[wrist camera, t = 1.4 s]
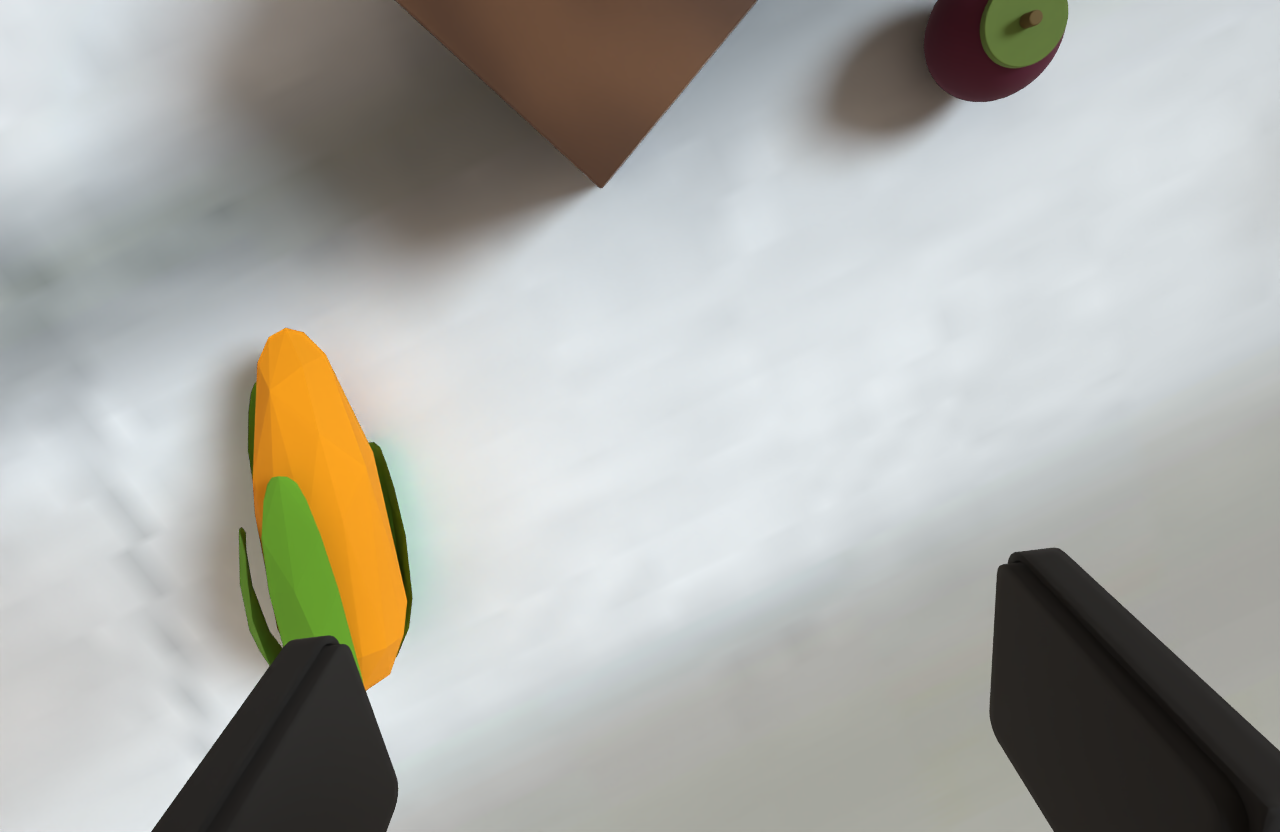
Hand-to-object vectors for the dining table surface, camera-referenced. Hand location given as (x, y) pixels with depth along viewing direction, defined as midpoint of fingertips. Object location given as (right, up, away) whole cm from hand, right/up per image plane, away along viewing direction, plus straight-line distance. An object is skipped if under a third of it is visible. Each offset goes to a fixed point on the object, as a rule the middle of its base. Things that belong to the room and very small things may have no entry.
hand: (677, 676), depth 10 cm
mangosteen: (+13, +20, +20) cm, 31 cm away
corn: (-17, 0, +27) cm, 32 cm away
